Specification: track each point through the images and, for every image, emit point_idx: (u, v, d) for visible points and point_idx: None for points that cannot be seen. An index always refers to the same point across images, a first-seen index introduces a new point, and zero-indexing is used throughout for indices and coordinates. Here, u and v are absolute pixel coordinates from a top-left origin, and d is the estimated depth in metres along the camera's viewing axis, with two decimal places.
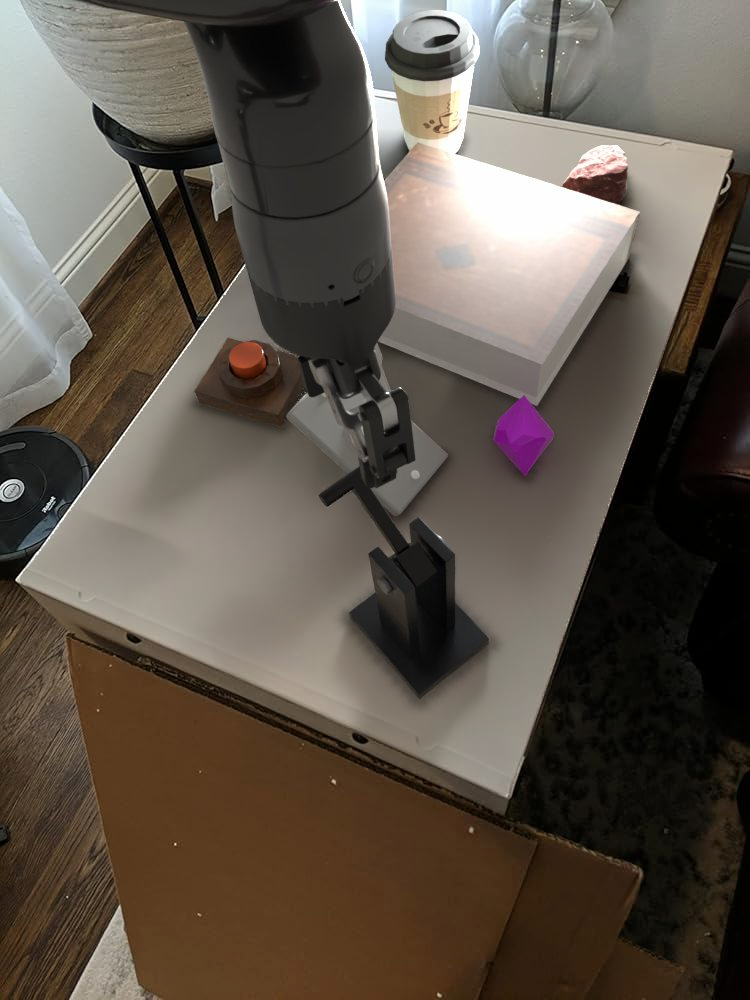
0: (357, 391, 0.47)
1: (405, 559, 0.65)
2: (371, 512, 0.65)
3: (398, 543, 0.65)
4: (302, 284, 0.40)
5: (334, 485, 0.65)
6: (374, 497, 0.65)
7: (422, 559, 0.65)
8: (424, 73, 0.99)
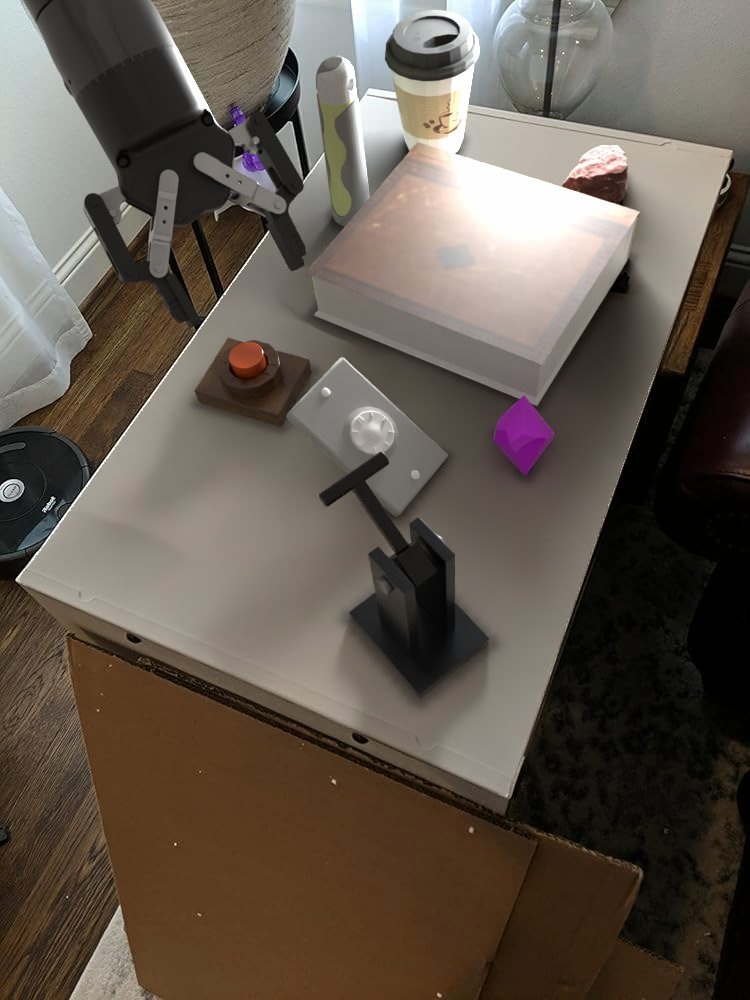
0: (234, 143, 0.58)
1: (405, 559, 0.65)
2: (371, 512, 0.65)
3: (398, 543, 0.65)
4: (161, 25, 0.54)
5: (334, 485, 0.65)
6: (374, 497, 0.65)
7: (422, 559, 0.65)
8: (424, 73, 0.99)
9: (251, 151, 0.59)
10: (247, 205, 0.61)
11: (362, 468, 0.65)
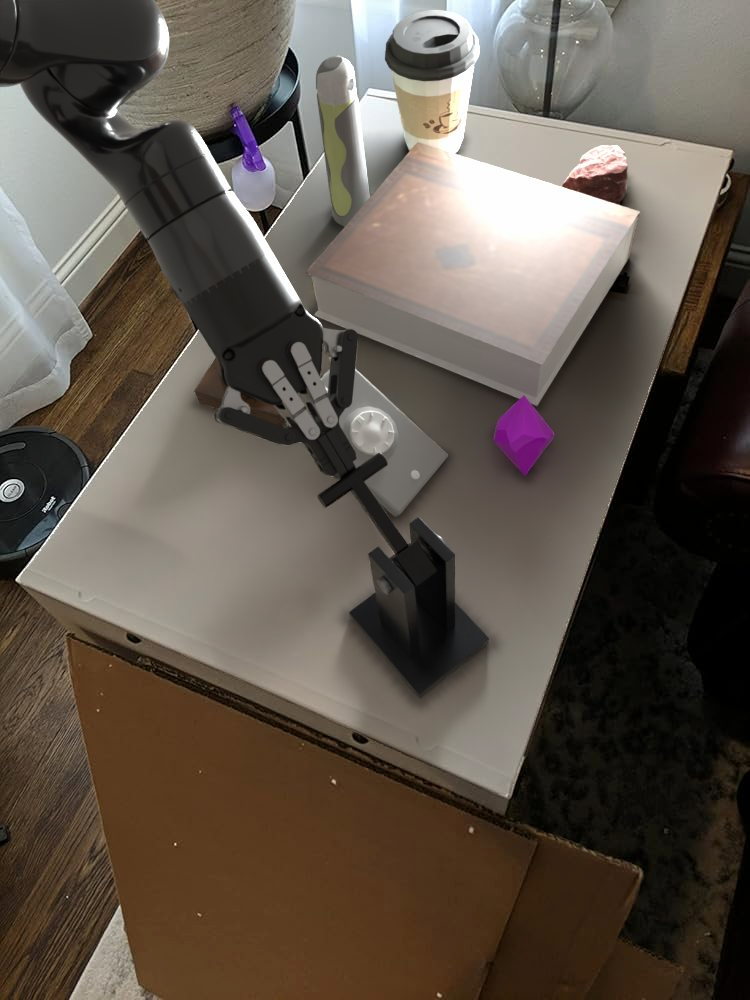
0: (322, 328, 0.64)
1: (404, 558, 0.65)
2: (370, 512, 0.65)
3: (397, 543, 0.66)
4: (260, 236, 0.60)
5: (333, 486, 0.65)
6: (372, 497, 0.66)
7: (421, 558, 0.65)
8: (424, 73, 0.99)
9: (329, 354, 0.65)
10: (306, 403, 0.66)
11: (360, 469, 0.66)
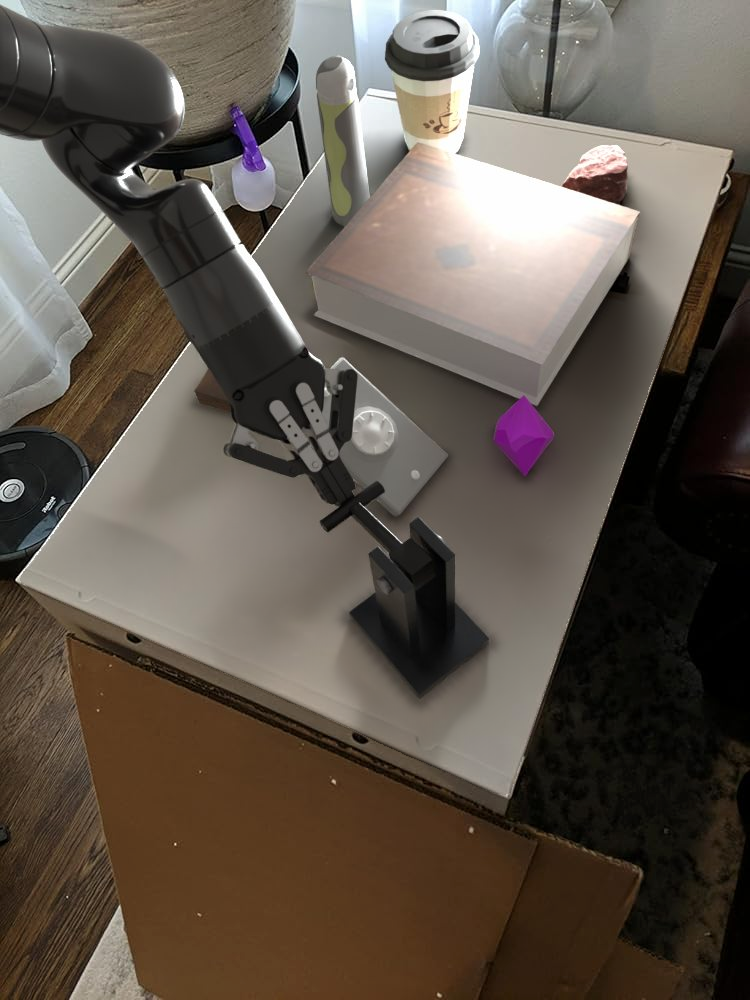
0: (324, 368, 0.69)
1: (398, 553, 0.66)
2: (366, 526, 0.69)
3: (394, 546, 0.67)
4: (268, 285, 0.65)
5: None
6: (369, 513, 0.69)
7: (415, 551, 0.65)
8: (424, 73, 0.99)
9: (331, 391, 0.70)
10: (309, 437, 0.71)
11: (357, 494, 0.71)
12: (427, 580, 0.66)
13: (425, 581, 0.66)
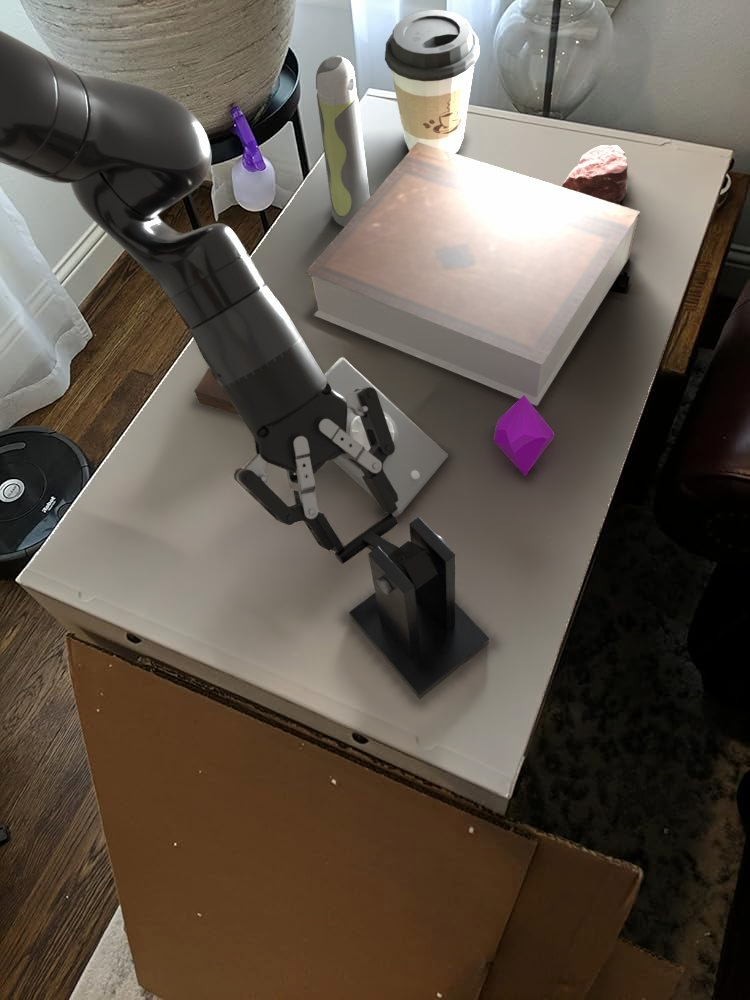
0: (346, 404, 0.71)
1: (395, 553, 0.66)
2: (374, 545, 0.70)
3: None
4: (291, 325, 0.67)
5: None
6: (378, 537, 0.71)
7: (411, 548, 0.66)
8: (424, 73, 0.99)
9: (358, 415, 0.72)
10: (348, 458, 0.73)
11: (370, 527, 0.73)
12: (428, 577, 0.65)
13: (425, 577, 0.65)
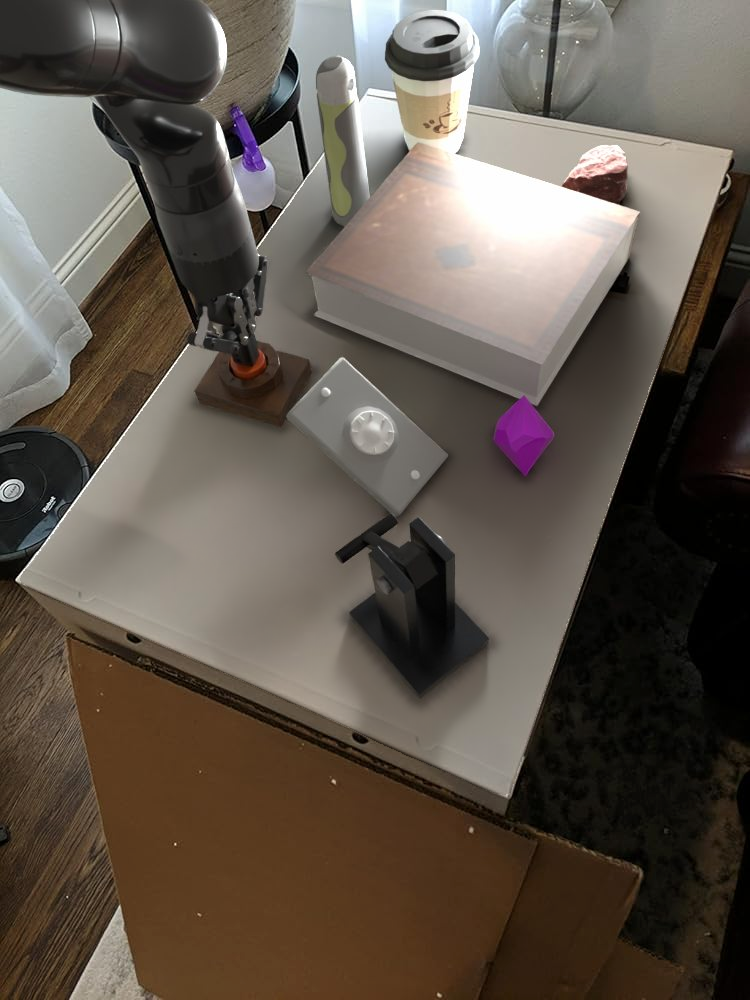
0: None
1: (395, 553, 0.66)
2: (374, 545, 0.70)
3: None
4: None
5: None
6: (378, 537, 0.71)
7: (411, 548, 0.66)
8: (424, 73, 0.99)
9: None
10: None
11: (370, 527, 0.73)
12: (428, 577, 0.65)
13: (425, 577, 0.65)
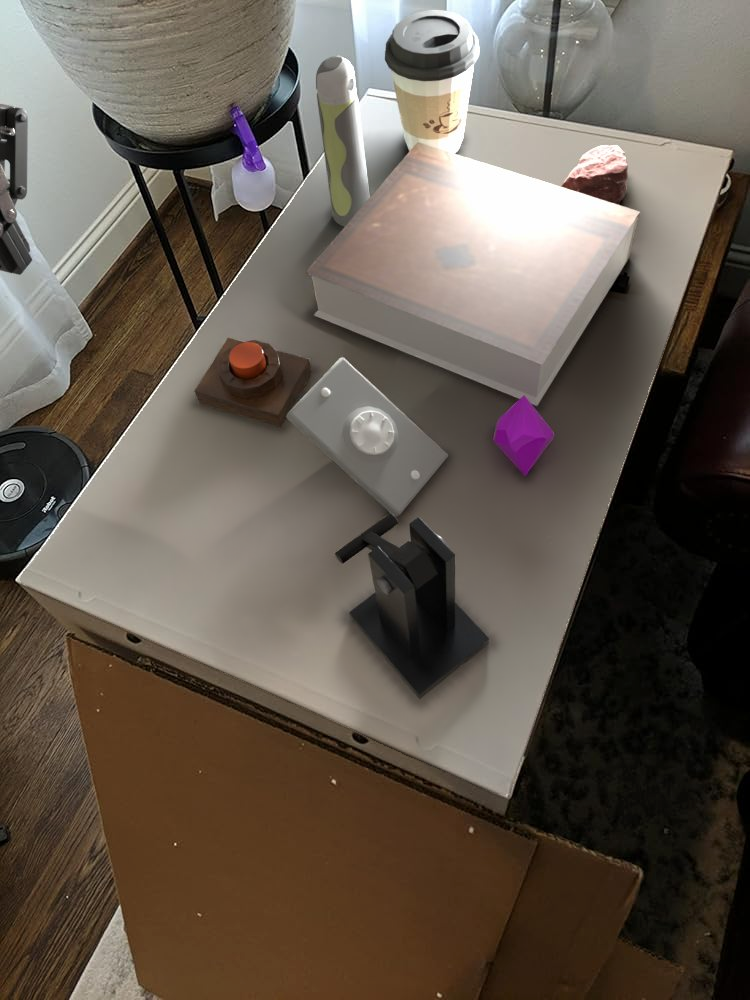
0: None
1: (395, 553, 0.66)
2: (374, 545, 0.70)
3: None
4: None
5: None
6: (378, 537, 0.71)
7: (411, 548, 0.66)
8: (424, 73, 0.99)
9: None
10: None
11: (370, 527, 0.73)
12: (428, 577, 0.65)
13: (425, 577, 0.65)
